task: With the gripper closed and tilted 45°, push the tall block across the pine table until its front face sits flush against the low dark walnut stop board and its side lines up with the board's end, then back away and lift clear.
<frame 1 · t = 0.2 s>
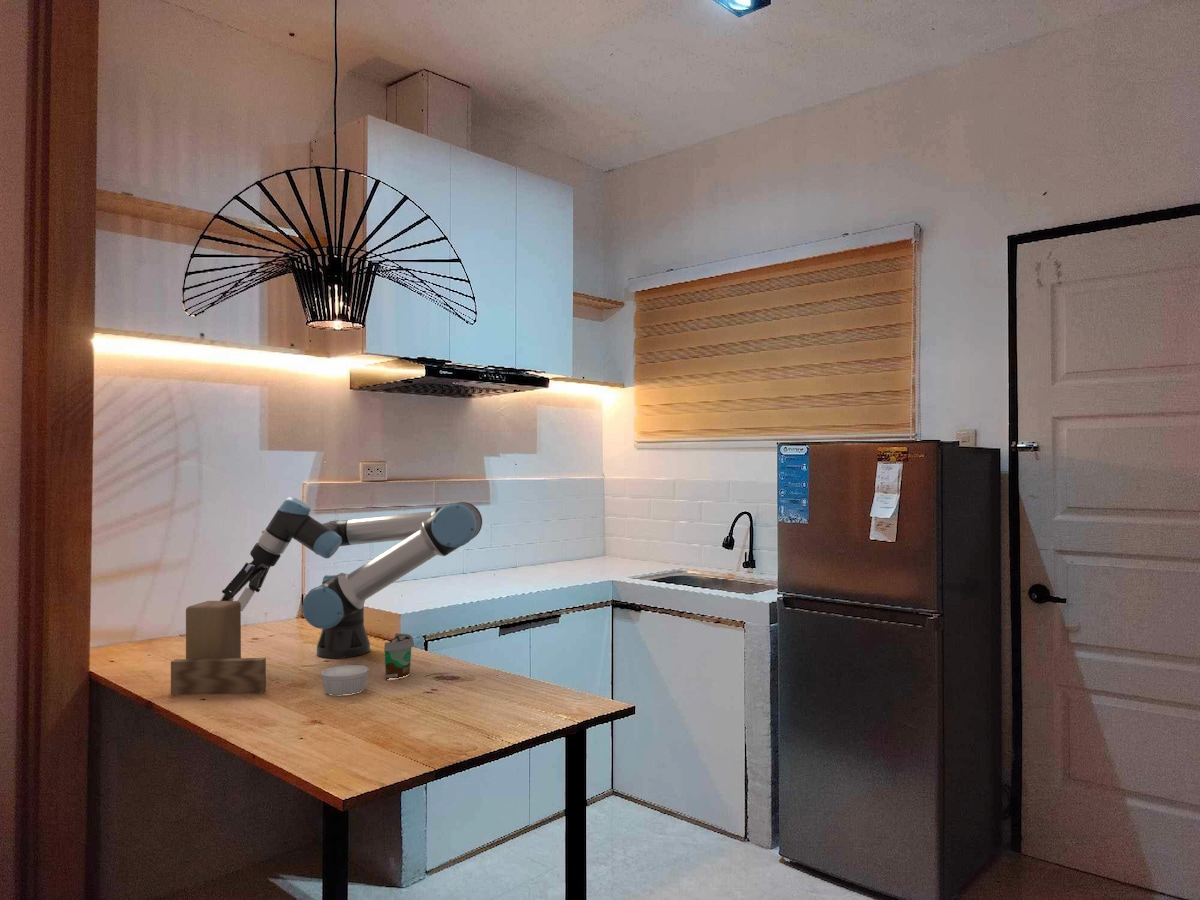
hand: (227, 612, 231), 15 cm above the table, tool tilted 35°, fingers open, 13 cm apart
ramekin: (345, 692, 203), on the table
food container: (401, 676, 218), on the table
stop board: (218, 692, 203), on the table
block: (213, 681, 214), on the table
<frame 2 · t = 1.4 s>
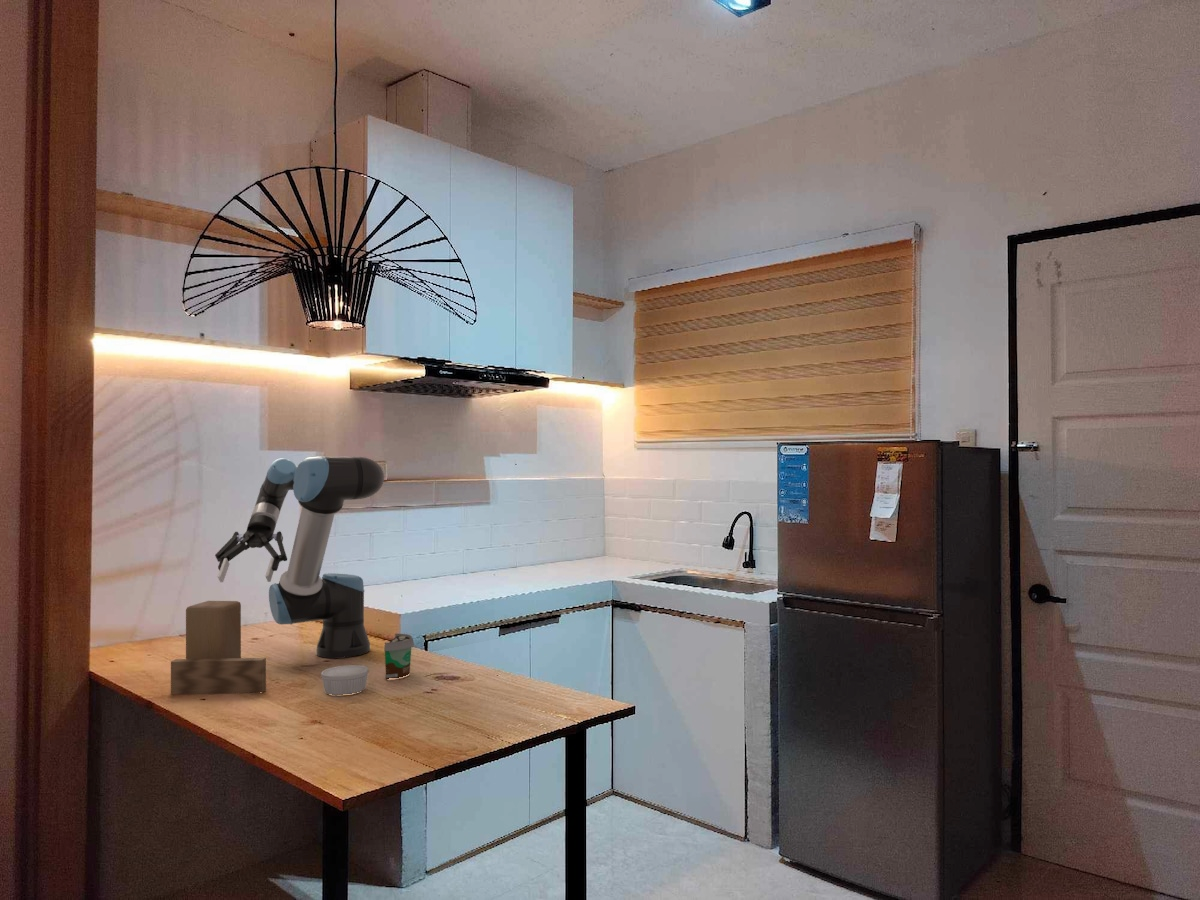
hand: (244, 579, 234), 24 cm above the table, tool tilted 45°, fingers open, 12 cm apart
nothing on the table moved.
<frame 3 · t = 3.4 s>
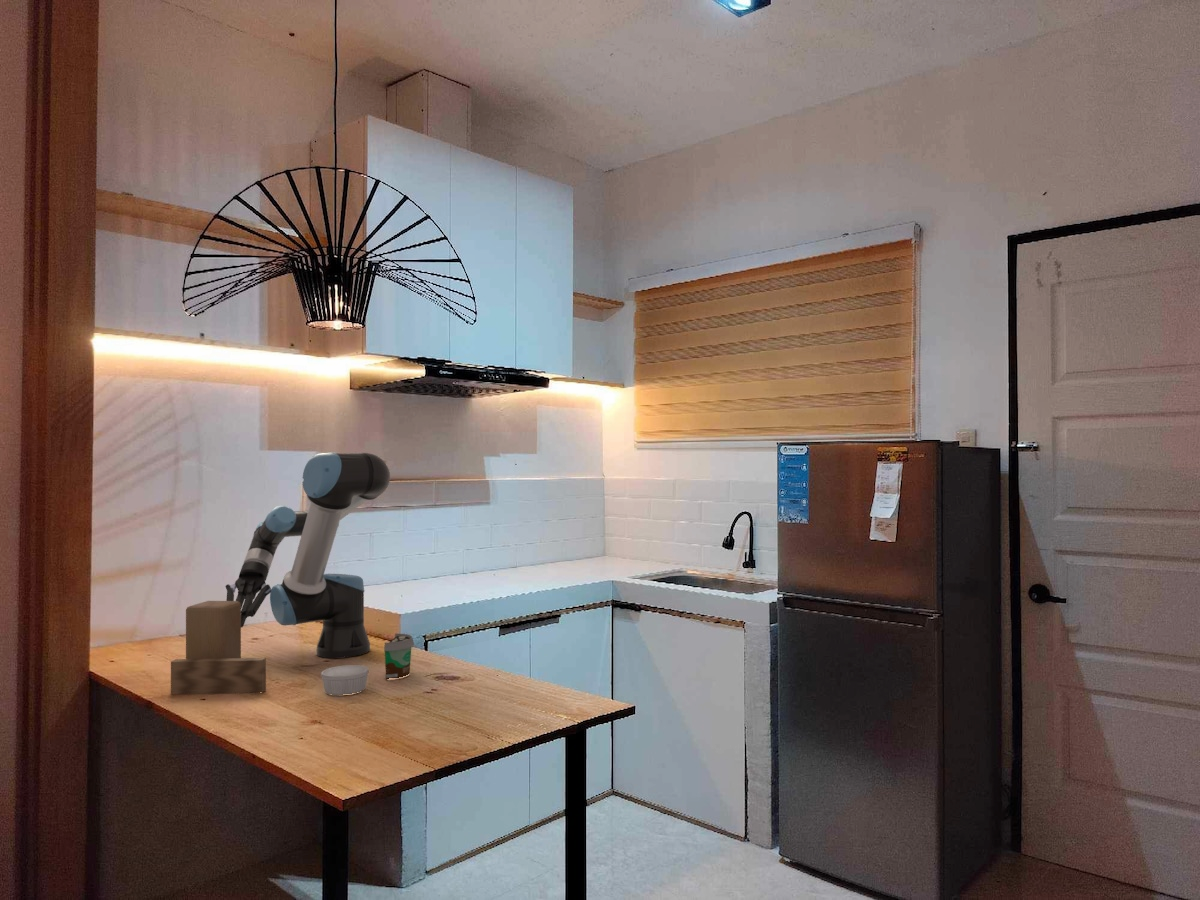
hand: (231, 636, 228), 9 cm above the table, tool tilted 45°, fingers closed
nothing on the table moved.
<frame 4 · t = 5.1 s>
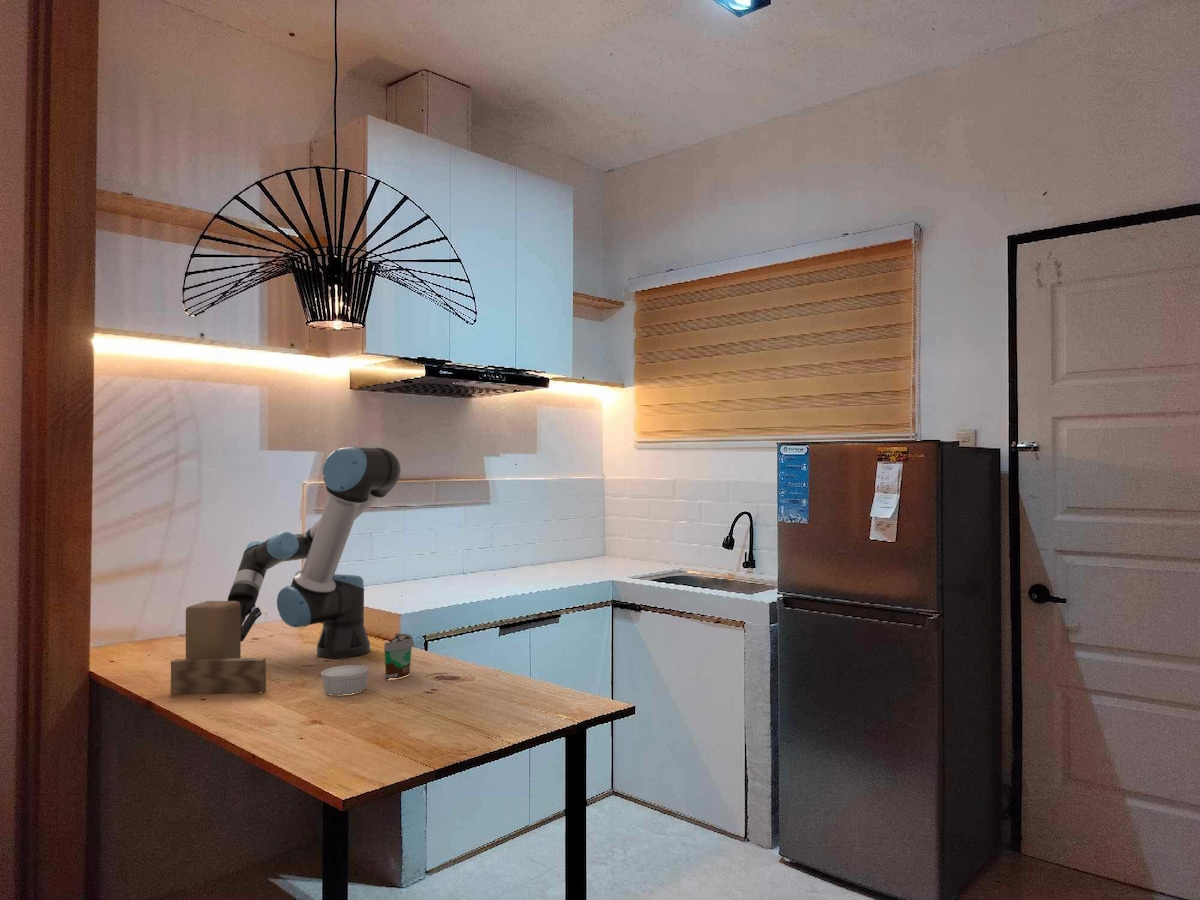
hand: (220, 662, 220), 3 cm above the table, tool tilted 45°, fingers closed
block: (213, 681, 214), on the table, touching gripper
everything else where it was.
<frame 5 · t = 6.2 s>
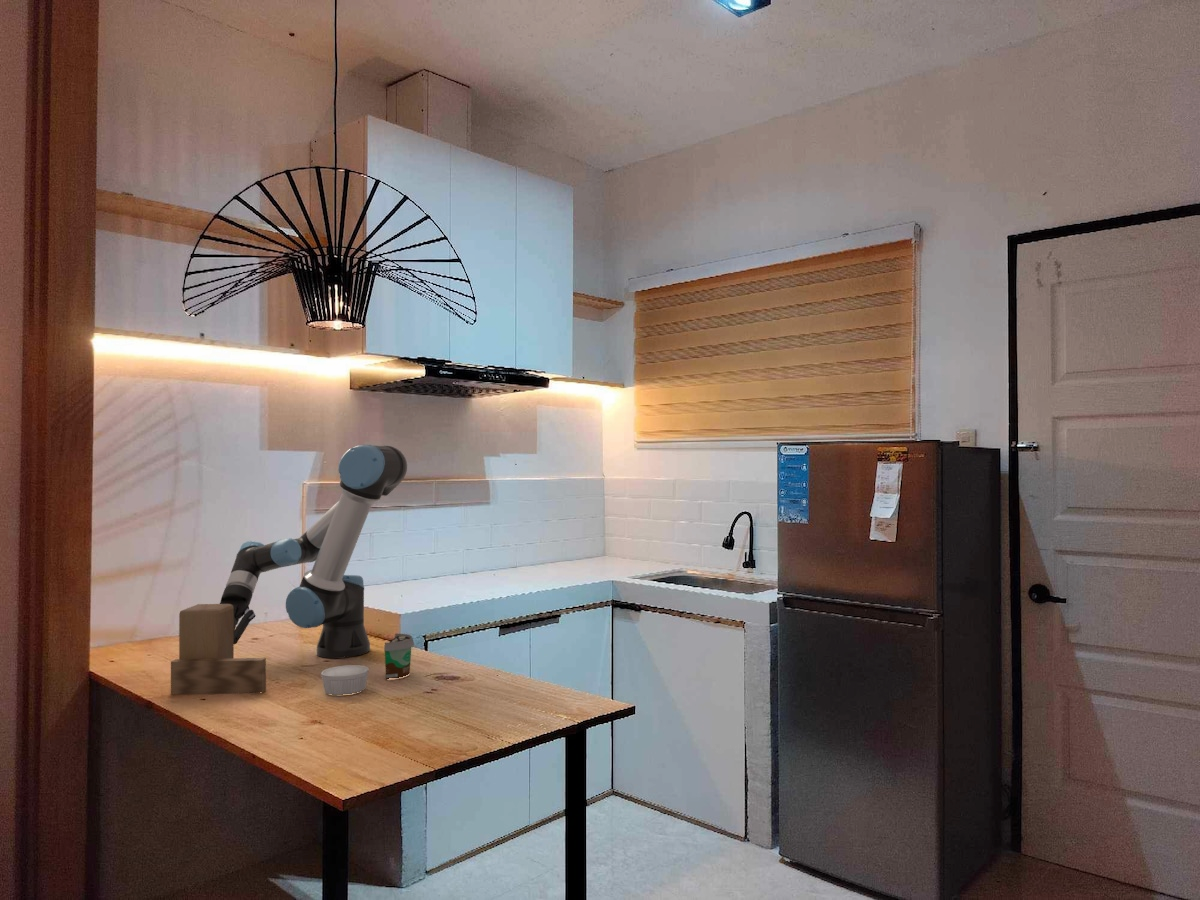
hand: (212, 666, 215), 3 cm above the table, tool tilted 45°, fingers closed
block: (207, 686, 209), on the table, touching gripper, stop board
everything else where it was.
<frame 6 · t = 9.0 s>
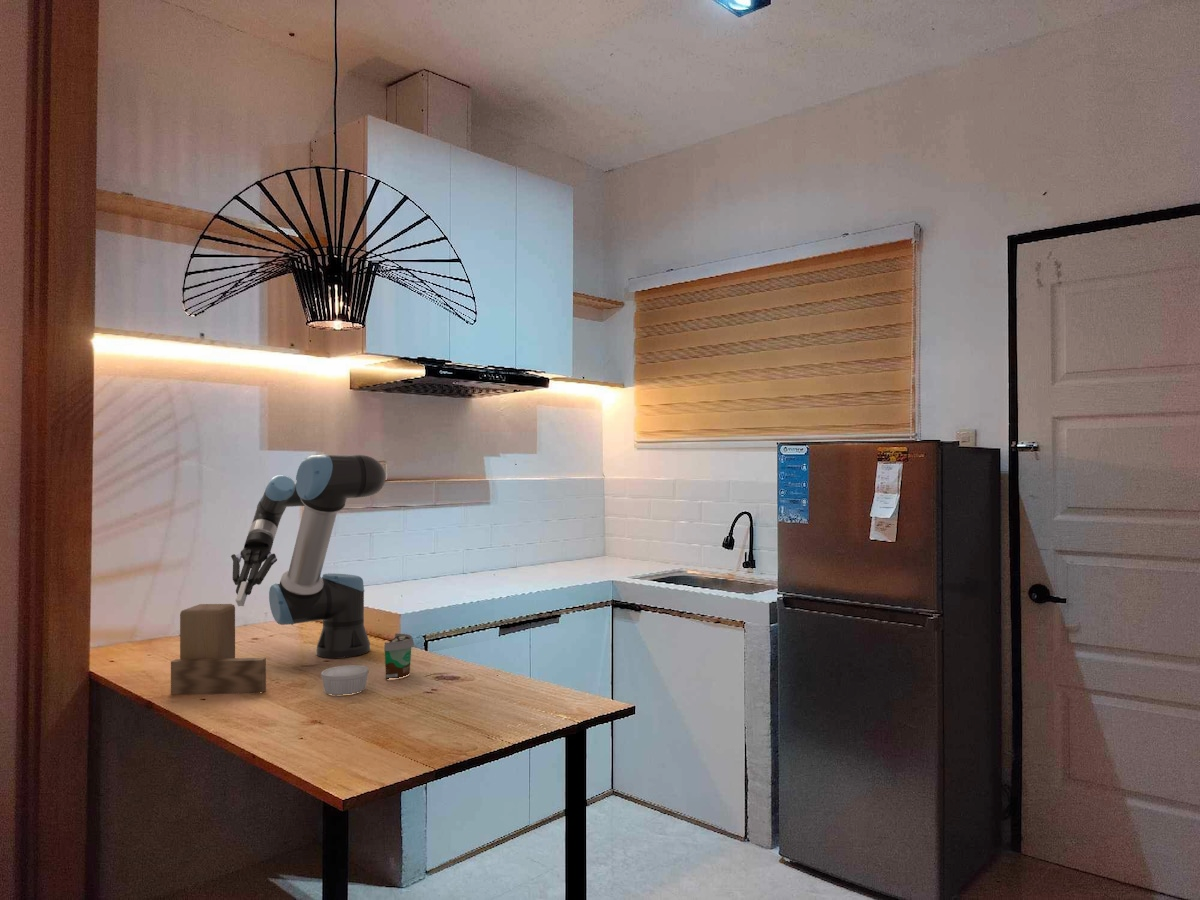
hand: (239, 603, 231), 17 cm above the table, tool tilted 45°, fingers closed
block: (208, 686, 209), on the table
everything else where it was.
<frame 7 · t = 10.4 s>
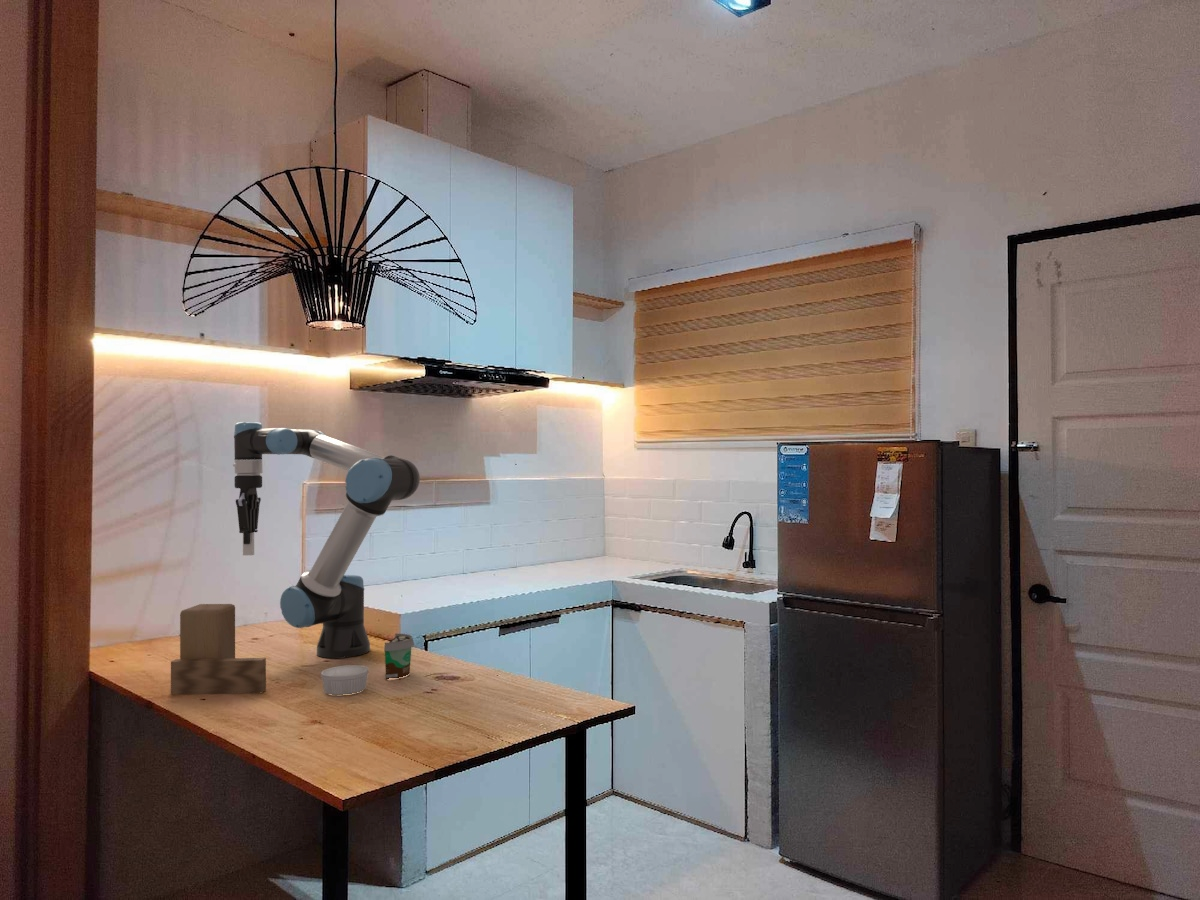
hand: (248, 555, 243), 29 cm above the table, tool pointing down, fingers closed
nothing on the table moved.
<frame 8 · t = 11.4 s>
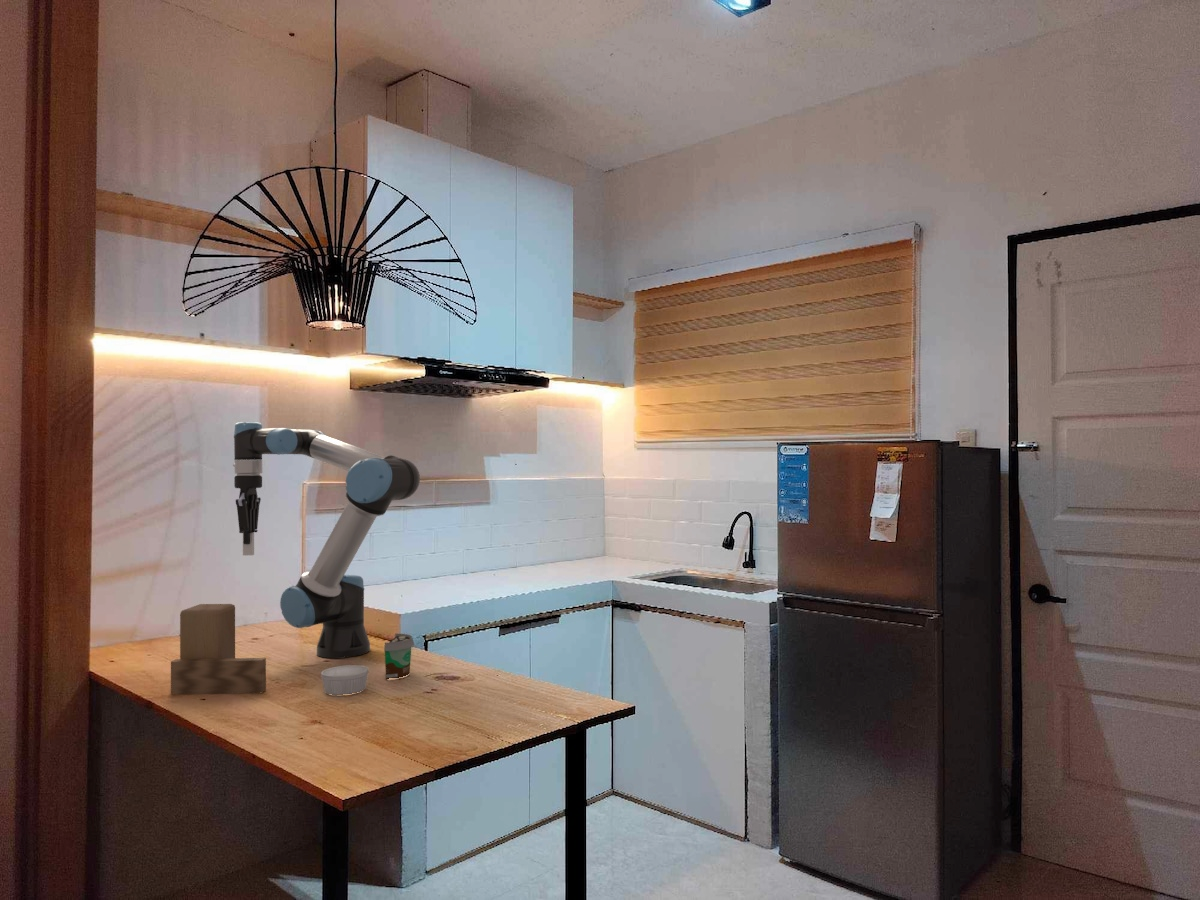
hand: (248, 555, 242), 29 cm above the table, tool pointing down, fingers closed
nothing on the table moved.
at the end: block 0.7 cm from the target spot on the table beside the stop board, on the table; block tilted 0° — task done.
